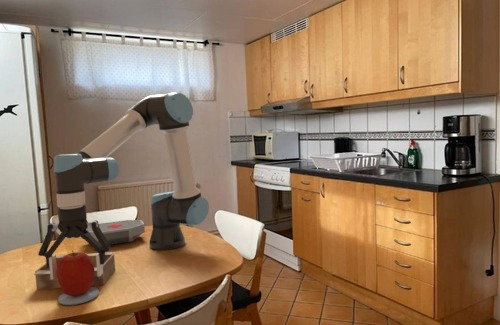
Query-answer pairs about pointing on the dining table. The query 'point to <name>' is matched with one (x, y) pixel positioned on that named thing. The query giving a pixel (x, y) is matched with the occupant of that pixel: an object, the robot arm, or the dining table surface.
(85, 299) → the plate
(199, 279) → the dining table surface
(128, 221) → the first aid kit
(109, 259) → the brown shallow open box
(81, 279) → the apple
